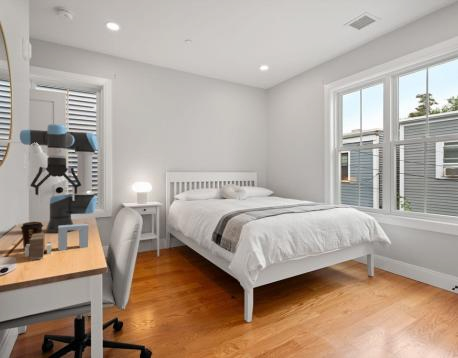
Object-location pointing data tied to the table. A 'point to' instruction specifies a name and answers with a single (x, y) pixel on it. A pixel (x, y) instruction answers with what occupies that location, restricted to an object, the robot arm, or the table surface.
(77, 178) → the robot arm
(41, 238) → the walnut bar
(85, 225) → the bore block
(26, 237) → the coffee cup
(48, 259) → the table surface
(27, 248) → the cradle
